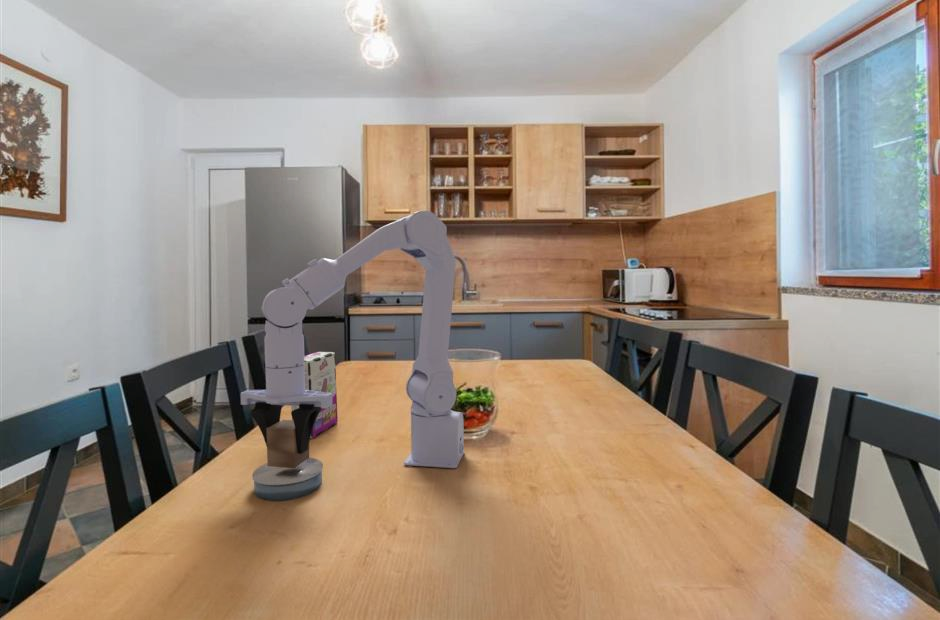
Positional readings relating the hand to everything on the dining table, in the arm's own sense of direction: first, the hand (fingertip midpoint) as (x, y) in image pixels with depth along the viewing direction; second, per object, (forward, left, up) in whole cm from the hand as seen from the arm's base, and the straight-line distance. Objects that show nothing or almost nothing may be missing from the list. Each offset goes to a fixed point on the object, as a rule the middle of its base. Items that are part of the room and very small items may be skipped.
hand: (288, 450), depth 74 cm
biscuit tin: (0, 0, -6) cm, 6 cm away
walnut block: (0, 0, -2) cm, 2 cm away
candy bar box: (+10, -26, -6) cm, 29 cm away
